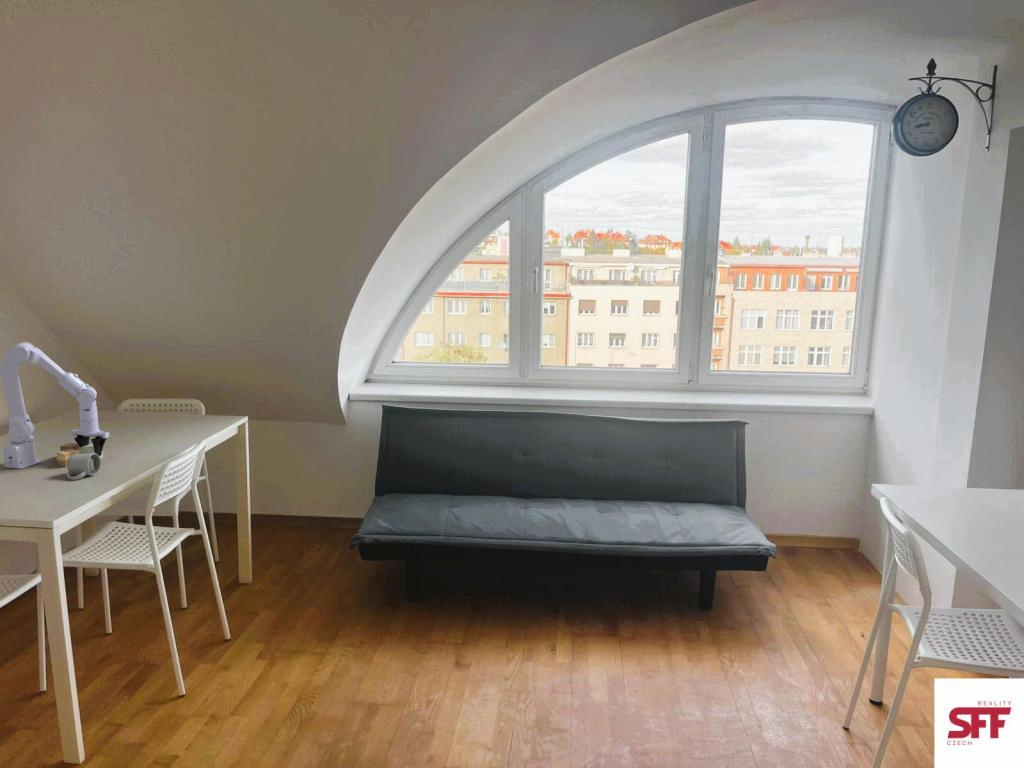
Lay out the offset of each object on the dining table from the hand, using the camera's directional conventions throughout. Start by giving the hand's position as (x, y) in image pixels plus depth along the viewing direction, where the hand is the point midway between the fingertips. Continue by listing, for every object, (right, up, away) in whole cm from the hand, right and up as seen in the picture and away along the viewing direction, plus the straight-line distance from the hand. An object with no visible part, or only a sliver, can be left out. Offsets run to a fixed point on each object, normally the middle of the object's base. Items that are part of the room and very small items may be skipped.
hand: (92, 455), depth 278 cm
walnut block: (-9, -1, +2) cm, 9 cm away
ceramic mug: (+8, -5, -20) cm, 22 cm away
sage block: (0, -1, 0) cm, 1 cm away
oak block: (-5, -3, -7) cm, 9 cm away
